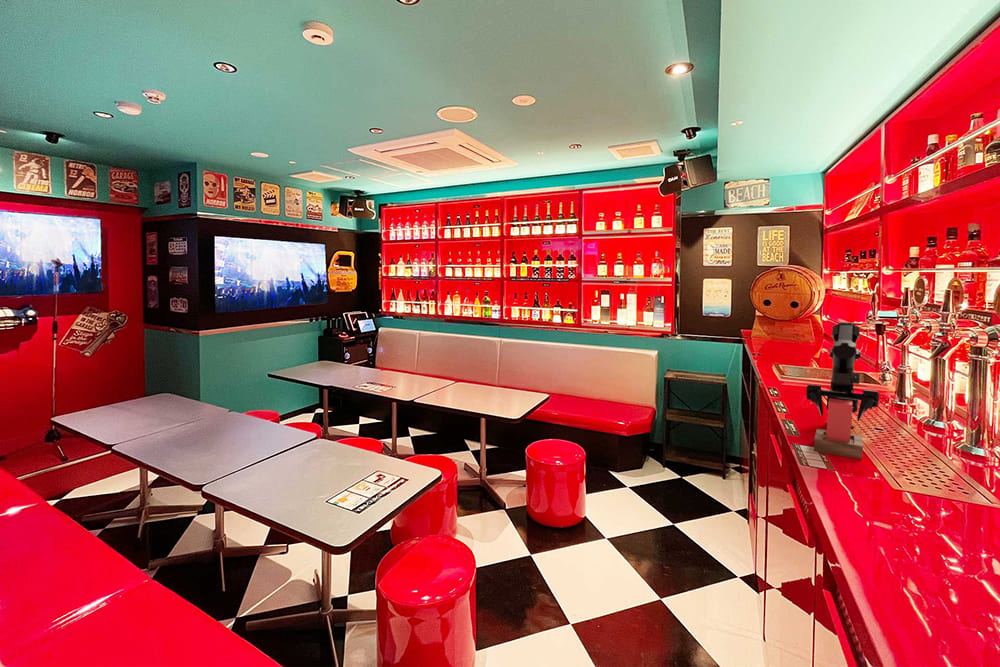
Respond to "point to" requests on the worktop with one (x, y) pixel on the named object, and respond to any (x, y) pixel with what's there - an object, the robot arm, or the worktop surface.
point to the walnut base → (838, 445)
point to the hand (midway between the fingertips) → (839, 418)
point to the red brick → (839, 420)
